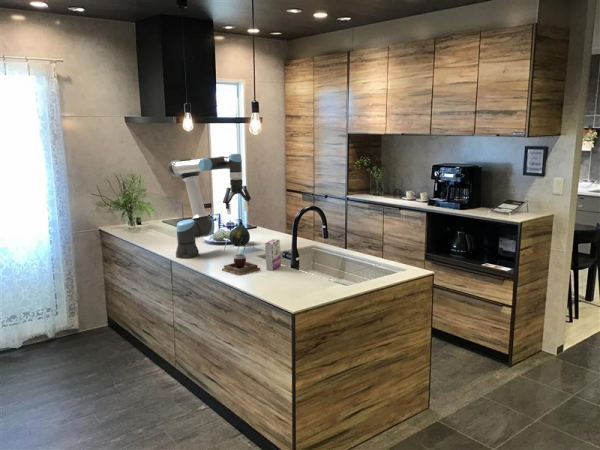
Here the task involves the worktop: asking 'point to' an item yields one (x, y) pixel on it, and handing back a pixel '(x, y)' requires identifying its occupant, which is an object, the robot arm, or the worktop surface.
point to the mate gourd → (240, 260)
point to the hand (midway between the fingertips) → (237, 212)
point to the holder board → (247, 268)
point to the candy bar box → (272, 254)
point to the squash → (239, 235)
